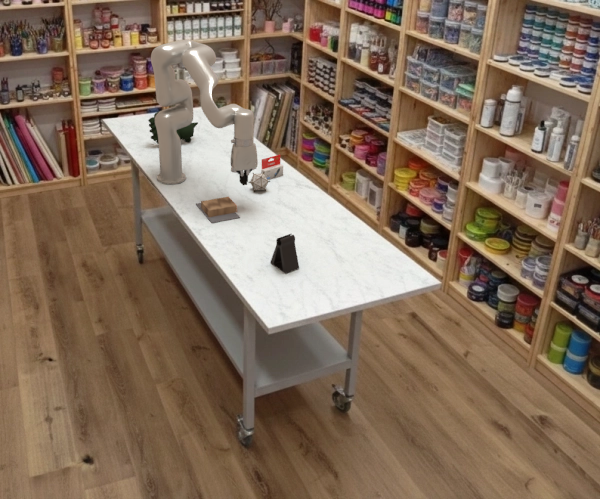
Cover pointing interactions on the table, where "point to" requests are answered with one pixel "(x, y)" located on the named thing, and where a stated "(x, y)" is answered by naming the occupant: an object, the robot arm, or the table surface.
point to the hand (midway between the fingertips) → (243, 183)
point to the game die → (259, 181)
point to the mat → (220, 217)
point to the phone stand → (285, 254)
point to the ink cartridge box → (272, 167)
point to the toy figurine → (183, 132)
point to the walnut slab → (218, 206)
